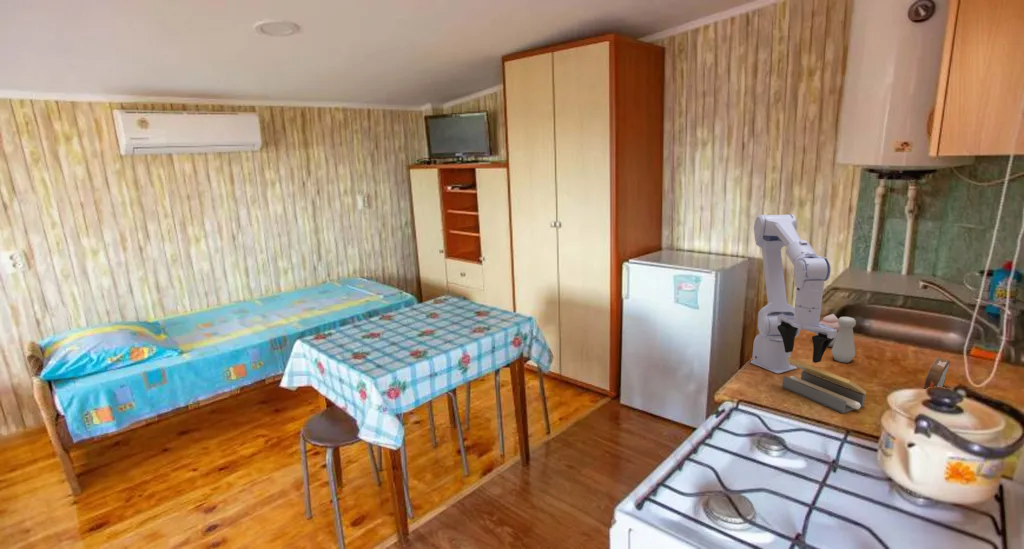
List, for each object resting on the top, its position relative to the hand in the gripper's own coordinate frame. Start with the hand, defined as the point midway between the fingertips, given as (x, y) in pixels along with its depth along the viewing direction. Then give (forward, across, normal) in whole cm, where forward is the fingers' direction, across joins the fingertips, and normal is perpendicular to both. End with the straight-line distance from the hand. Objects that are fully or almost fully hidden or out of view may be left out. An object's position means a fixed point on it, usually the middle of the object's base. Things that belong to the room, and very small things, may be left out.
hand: (802, 356), depth 133 cm
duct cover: (+4, +5, +2) cm, 7 cm away
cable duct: (+9, +5, +2) cm, 11 cm away
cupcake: (+10, -17, +38) cm, 43 cm away
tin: (+10, +17, +28) cm, 34 cm away
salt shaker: (+10, -7, +29) cm, 31 cm away
